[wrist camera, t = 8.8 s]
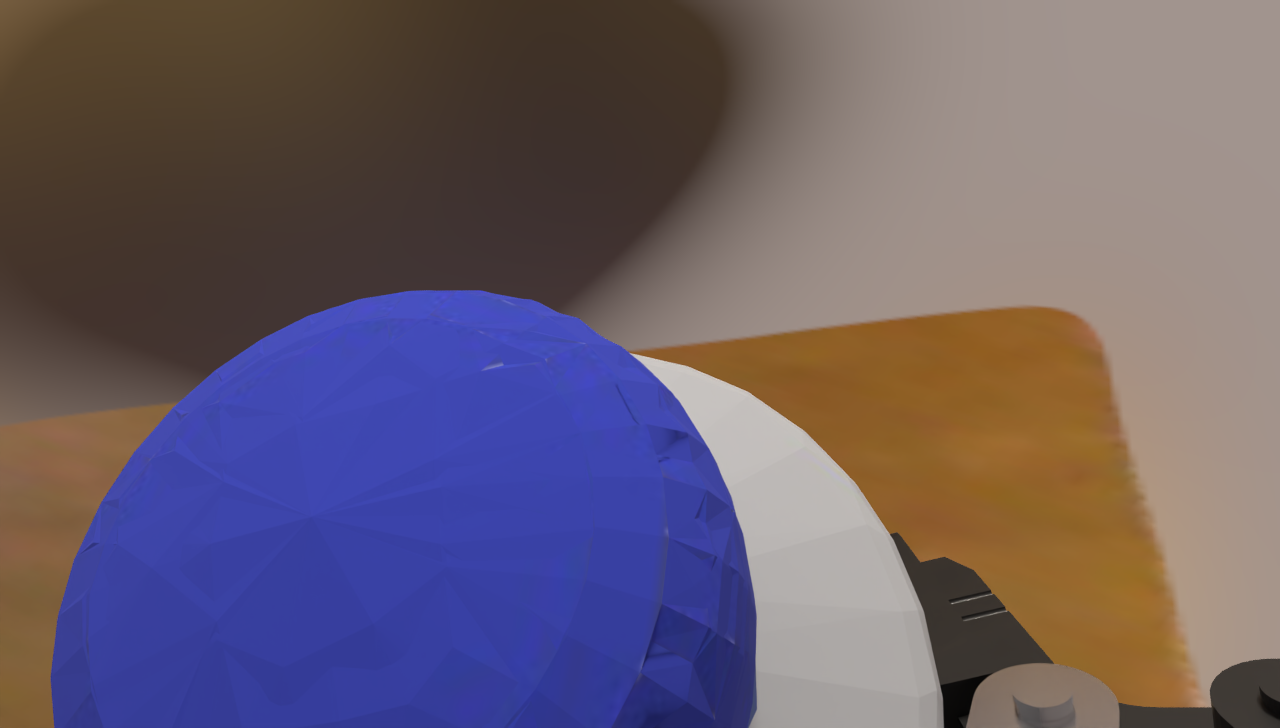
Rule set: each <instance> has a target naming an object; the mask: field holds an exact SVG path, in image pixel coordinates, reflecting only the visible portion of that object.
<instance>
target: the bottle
mask: <svg viewBox="0 0 1280 728" xmlns="http://www.w3.org/2000/svg"><path fill="white" fill-rule="evenodd" d="M51 688H52V701H53V714H54V728H944V720H943V697H942V692H941V688H940V683H939V679H938V674H937V669H936V665H935V660H934V656H933V651H932V647H931V642H930V637H929V633H928V628H927V624H926V619H925V615H924V611H923V608H922V606H921V604H920V601H919V599H918V597H917V594H916V592H915V590H914V587H913V585H912V582H911V580H910V578H909V575H908V573H907V571H906V568H905V566H904V564H903V561H902V559H901V557H900V554H899V552H898V550H897V547H896V545H895V543H894V540H893V539H892V537H891V536H890V534H889V533H888V531H887V530H886V528H885V527H884V525H883V524H882V522H881V521H880V519H879V518H878V516H877V515H876V513H875V512H874V510H873V509H872V507H871V506H870V504H869V503H868V501H867V500H866V498H865V497H864V495H863V494H862V492H861V491H860V489H859V488H858V486H857V485H856V483H855V482H854V481H853V480H852V479H851V478H850V477H849V476H848V475H847V474H846V473H845V472H844V471H843V470H842V469H841V468H840V467H839V466H838V465H837V464H836V463H835V462H834V461H833V459H832V458H831V457H830V456H829V455H828V454H827V453H826V452H825V451H824V450H823V449H822V448H821V447H820V446H819V445H818V444H817V443H816V442H815V441H814V440H813V439H812V438H811V437H810V436H809V435H808V434H807V433H806V432H805V431H803V430H802V429H800V428H799V427H798V426H796V425H795V424H793V423H792V422H790V421H789V420H788V419H786V418H785V417H783V416H782V415H780V414H779V413H777V412H776V411H775V410H773V409H772V408H770V407H769V406H767V405H766V404H765V403H763V402H762V401H760V400H759V399H757V398H756V397H754V396H753V395H752V394H750V393H749V392H747V391H745V390H742V389H740V388H738V387H735V386H733V385H730V384H728V383H726V382H723V381H721V380H719V379H716V378H714V377H712V376H709V375H707V374H704V373H702V372H700V371H697V370H695V369H693V368H690V367H688V366H683V365H679V364H675V363H670V362H666V361H662V360H657V359H653V358H648V357H644V356H640V355H635V354H631V353H629V352H628V351H626V350H625V349H624V348H622V347H621V346H619V345H617V344H615V343H613V342H611V341H608V340H607V339H605V338H603V337H602V336H600V335H599V334H597V333H596V332H595V331H594V330H592V329H591V328H590V327H589V326H587V325H586V324H585V323H584V322H582V321H581V320H580V319H579V318H575V317H571V316H567V315H564V314H560V313H558V312H556V311H554V310H552V309H550V308H548V307H546V306H544V305H542V304H541V303H539V302H535V301H533V300H527V299H519V298H513V297H509V296H503V295H497V294H492V293H488V292H484V291H407V292H401V293H395V294H389V295H383V296H377V297H371V298H365V299H359V300H356V301H353V302H350V303H347V304H343V305H341V306H338V307H334V308H331V309H329V310H325V311H322V312H319V313H316V314H313V315H309V316H307V317H305V318H303V319H301V320H299V321H297V322H295V323H293V324H291V325H289V326H287V327H285V328H283V329H281V330H279V331H277V332H275V333H273V334H271V335H269V336H267V337H265V338H263V339H261V340H260V341H258V342H257V343H255V344H254V345H252V346H251V347H249V348H248V349H247V350H245V351H243V352H242V353H240V354H239V355H238V356H236V357H235V358H233V359H232V360H230V361H229V362H227V363H226V364H224V365H223V366H221V367H220V368H218V369H217V370H215V371H214V372H213V373H212V374H211V375H210V376H209V377H207V378H206V379H205V380H204V381H203V382H202V383H201V384H199V385H198V386H197V387H196V388H195V389H194V390H193V391H192V392H191V393H189V394H188V395H187V396H186V397H185V398H184V399H183V400H181V401H180V402H179V403H178V404H177V405H176V406H175V407H173V408H172V410H171V411H170V412H169V413H168V414H167V415H166V417H165V418H164V419H163V420H162V421H161V422H160V423H159V425H158V426H157V427H156V428H155V429H154V430H153V431H152V433H151V434H150V435H149V436H148V437H147V438H146V440H145V441H144V442H143V443H142V444H141V445H140V446H139V448H138V449H137V450H136V451H135V452H134V454H133V455H132V457H131V458H130V460H129V461H128V463H127V464H126V466H125V467H124V469H123V470H122V472H121V473H120V475H119V476H118V478H117V479H116V481H115V483H114V484H113V486H112V487H111V489H110V490H109V492H108V493H107V495H106V496H105V498H104V499H103V501H102V502H101V504H100V506H99V509H98V511H97V513H96V515H95V517H94V519H93V521H92V523H91V526H90V528H89V530H88V532H87V534H86V536H85V538H84V540H83V542H82V545H81V547H80V549H79V551H78V553H77V555H76V557H75V559H74V562H73V566H72V569H71V573H70V576H69V580H68V583H67V587H66V590H65V594H64V597H63V601H62V604H61V608H60V611H59V615H58V620H57V629H56V637H55V646H54V654H53V662H52V671H51Z"/></svg>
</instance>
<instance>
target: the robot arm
mask: <svg viewBox="0 0 1280 728" xmlns="http://www.w3.org/2000/svg"><path fill="white" fill-rule="evenodd" d="M890 536H891V537H892V539H893V540H894V543H895V545H896V547H897V550H898V552H899V554H900V557H901V559H902V561H903V564H904V566H905V568H906V571H907V573H908V575H909V578H910V580H911V582H912V585H913V587H914V590H915V592H916V594H917V597H918V599H919V601H920V604H921V606H922V608H923V611H924V615H925V619H926V624H927V628H928V633H929V637H930V642H931V647H932V651H933V656H934V660H935V665H936V669H937V674H938V679H939V683H940V688H941V692H942V697H943V720H944V728H1280V659H1261V660H1253V661H1248V662H1243V663H1240V664H1237V665H1234V666H1232V667H1230V668H1228V669H1226V670H1224V671H1222V672H1221V673H1220V674H1219V675H1218V676H1217V677H1216V678H1215V679H1214V681H1213V682H1212V685H1211V688H1210V697H1211V706H1212V708H1158V707H1141V706H1133V705H1127V704H1122V703H1118V701H1117V699H1116V697H1115V695H1114V694H1113V692H1112V691H1111V690H1110V689H1109V688H1108V687H1107V686H1106V685H1105V684H1104V683H1103V682H1101V681H1100V680H1098V679H1097V678H1095V677H1094V676H1092V675H1090V674H1088V673H1085V672H1083V671H1080V670H1078V669H1075V668H1071V667H1067V666H1063V665H1057V664H1054V663H1053V662H1052V660H1051V659H1050V658H1049V657H1048V656H1047V655H1046V654H1045V652H1044V651H1043V650H1042V649H1041V648H1040V647H1039V645H1038V644H1037V643H1036V642H1035V641H1034V640H1033V638H1032V637H1031V636H1030V635H1029V634H1028V633H1027V632H1026V630H1025V629H1024V628H1023V627H1022V626H1021V625H1020V623H1019V622H1018V621H1017V620H1016V619H1015V618H1014V616H1013V615H1012V614H1011V613H1010V612H1009V611H1006V609H1005V606H1004V605H1003V604H1002V603H1001V601H1000V600H999V599H998V598H997V597H996V596H995V594H992V593H991V590H990V589H989V588H988V586H987V585H986V584H985V583H984V582H983V581H982V579H981V578H980V577H979V576H978V575H977V574H976V572H975V571H974V570H972V569H970V568H967V567H965V566H963V565H961V564H959V563H957V562H954V561H952V560H950V559H948V558H946V557H942V558H938V559H933V560H929V561H925V562H921V563H920V561H919V560H918V559H917V557H916V556H915V555H914V553H913V552H912V551H911V549H910V548H909V547H908V545H907V544H906V543H905V541H904V540H903V538H902V537H901V536H900V535H899V534H898V533H892V534H890Z"/></svg>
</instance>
